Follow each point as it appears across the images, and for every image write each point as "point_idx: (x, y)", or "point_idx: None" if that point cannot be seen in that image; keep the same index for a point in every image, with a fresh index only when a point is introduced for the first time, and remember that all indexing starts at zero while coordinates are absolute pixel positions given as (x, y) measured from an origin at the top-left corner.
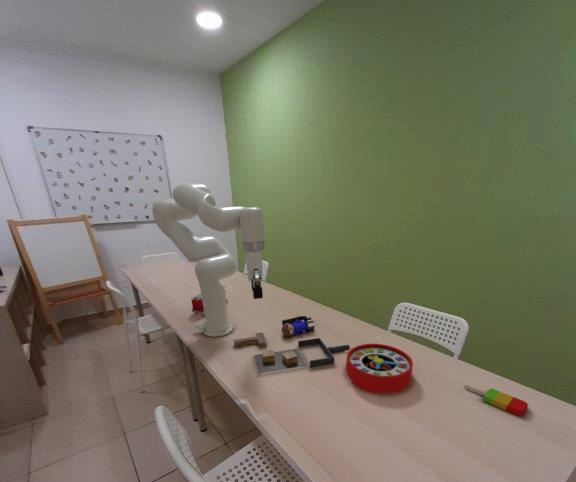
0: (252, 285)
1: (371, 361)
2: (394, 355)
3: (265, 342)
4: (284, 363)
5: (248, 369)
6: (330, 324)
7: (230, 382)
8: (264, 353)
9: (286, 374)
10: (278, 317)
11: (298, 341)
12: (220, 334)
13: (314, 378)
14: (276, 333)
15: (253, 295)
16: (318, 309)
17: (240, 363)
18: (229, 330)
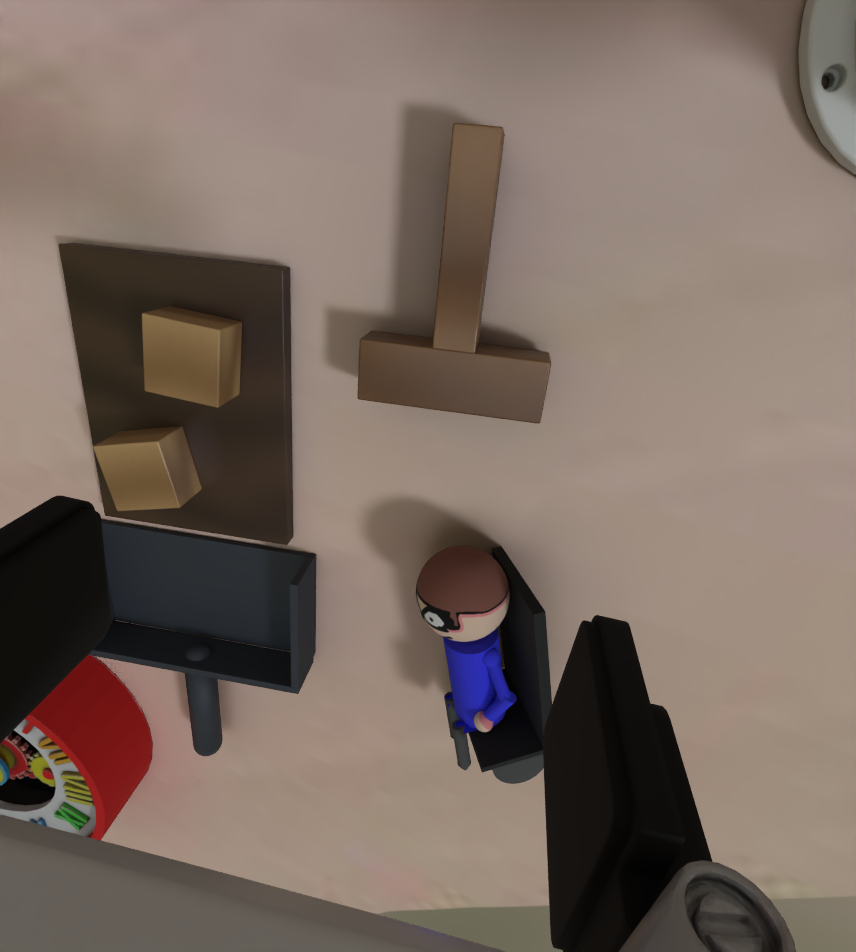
0: (592, 703)
1: (21, 748)
2: None
3: (359, 391)
4: (142, 422)
5: (150, 187)
6: (533, 809)
7: (15, 20)
8: (179, 334)
9: (70, 396)
10: (851, 626)
11: (289, 584)
12: (811, 12)
13: (26, 504)
14: (577, 517)
15: (14, 524)
16: (787, 867)
17: (235, 143)
18: (837, 136)
